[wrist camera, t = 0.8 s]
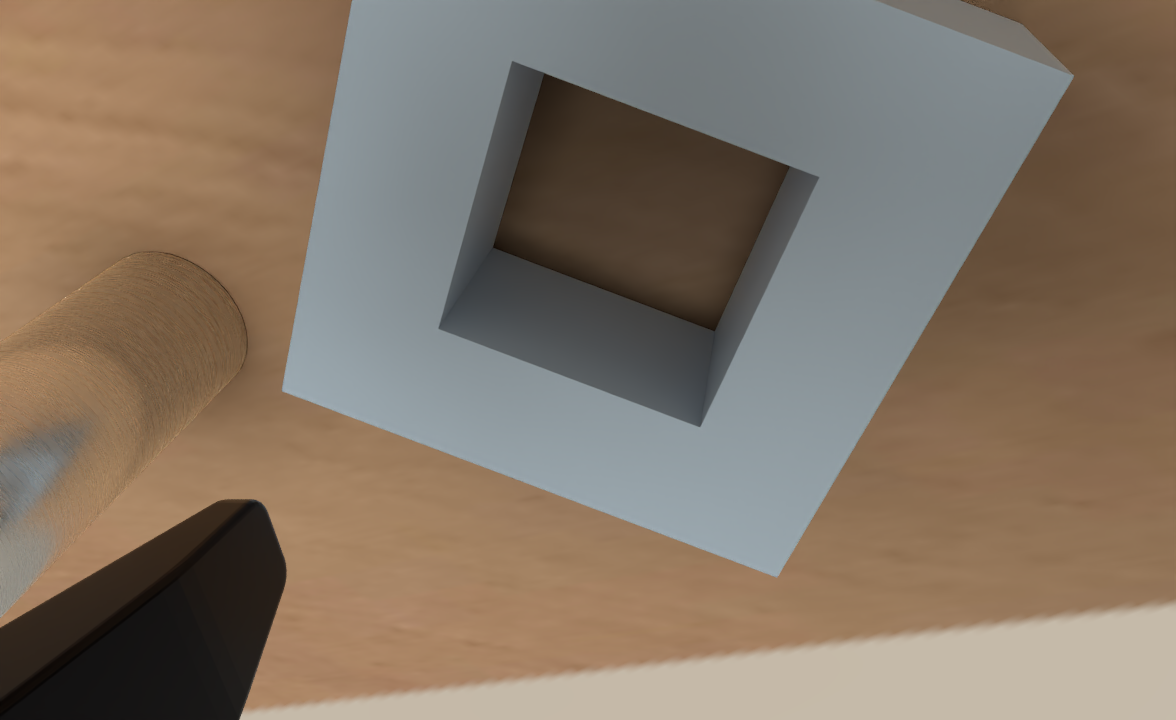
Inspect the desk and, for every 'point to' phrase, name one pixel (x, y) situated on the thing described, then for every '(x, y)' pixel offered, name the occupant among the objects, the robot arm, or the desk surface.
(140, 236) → the desk surface
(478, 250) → the bracket block
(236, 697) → the robot arm
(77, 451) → the silver tall cylinder
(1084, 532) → the desk surface
